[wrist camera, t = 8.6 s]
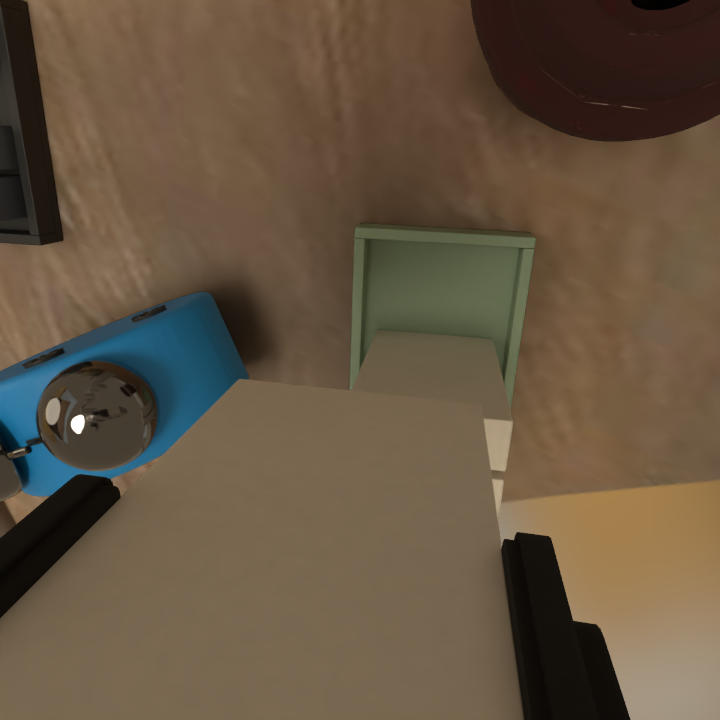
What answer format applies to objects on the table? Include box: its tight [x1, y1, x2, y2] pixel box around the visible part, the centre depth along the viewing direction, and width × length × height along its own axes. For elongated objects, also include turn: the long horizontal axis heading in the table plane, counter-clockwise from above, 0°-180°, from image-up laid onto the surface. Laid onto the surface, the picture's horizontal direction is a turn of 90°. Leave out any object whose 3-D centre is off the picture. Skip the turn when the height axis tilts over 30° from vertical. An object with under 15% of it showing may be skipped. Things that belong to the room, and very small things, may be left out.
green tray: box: [349, 223, 536, 410], centre depth 33 cm, size 13×10×2 cm
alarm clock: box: [0, 292, 249, 501], centre depth 29 cm, size 13×6×15 cm, turn 111°
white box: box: [0, 379, 524, 720], centre depth 11 cm, size 2×7×11 cm, turn 87°
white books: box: [351, 330, 513, 519], centre depth 29 cm, size 5×7×11 cm
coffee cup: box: [471, 0, 720, 141], centre depth 20 cm, size 10×10×15 cm
